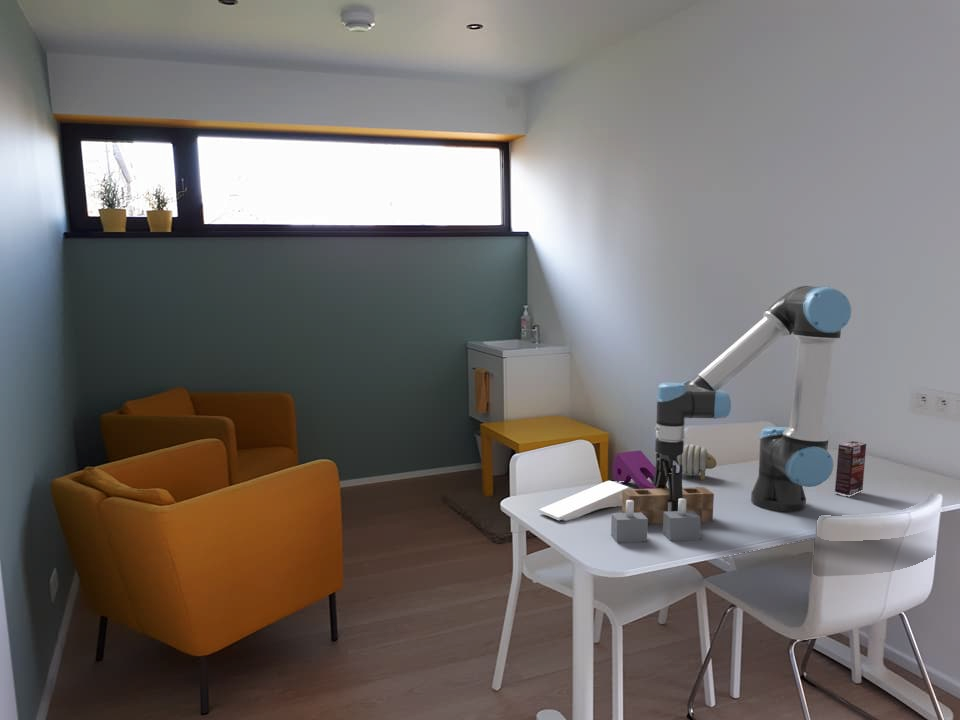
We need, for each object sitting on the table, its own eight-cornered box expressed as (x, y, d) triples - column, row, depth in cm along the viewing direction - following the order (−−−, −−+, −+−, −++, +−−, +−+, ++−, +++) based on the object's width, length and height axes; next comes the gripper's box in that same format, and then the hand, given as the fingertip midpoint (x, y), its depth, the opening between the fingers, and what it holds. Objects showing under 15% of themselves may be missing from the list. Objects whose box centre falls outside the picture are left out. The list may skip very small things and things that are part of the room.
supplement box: (849, 498, 220) (853, 447, 218) (834, 494, 224) (837, 444, 222) (863, 493, 225) (867, 443, 223) (848, 489, 229) (851, 440, 227)
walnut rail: (703, 514, 205) (704, 487, 204) (712, 521, 199) (713, 493, 198) (621, 517, 203) (622, 489, 202) (628, 524, 197) (629, 496, 196)
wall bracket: (560, 542, 199) (630, 510, 215) (562, 520, 197) (633, 489, 212) (536, 523, 207) (606, 494, 222) (538, 502, 204) (608, 474, 219)
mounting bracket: (663, 506, 230) (633, 469, 244) (671, 486, 226) (640, 450, 240) (638, 510, 226) (609, 472, 240) (646, 490, 222) (616, 453, 236)
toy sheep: (715, 483, 235) (716, 450, 233) (662, 478, 240) (663, 445, 239) (716, 474, 245) (717, 442, 243) (665, 470, 250) (666, 438, 249)
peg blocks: (691, 532, 191) (693, 496, 190) (699, 539, 186) (701, 502, 185) (611, 535, 189) (612, 498, 187) (616, 542, 184) (617, 504, 182)
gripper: (643, 430, 208) (641, 506, 211) (670, 448, 187) (667, 532, 190) (668, 430, 209) (665, 505, 212) (698, 448, 188) (694, 531, 191)
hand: (666, 518), depth 201 cm, fingers open, 8 cm apart
